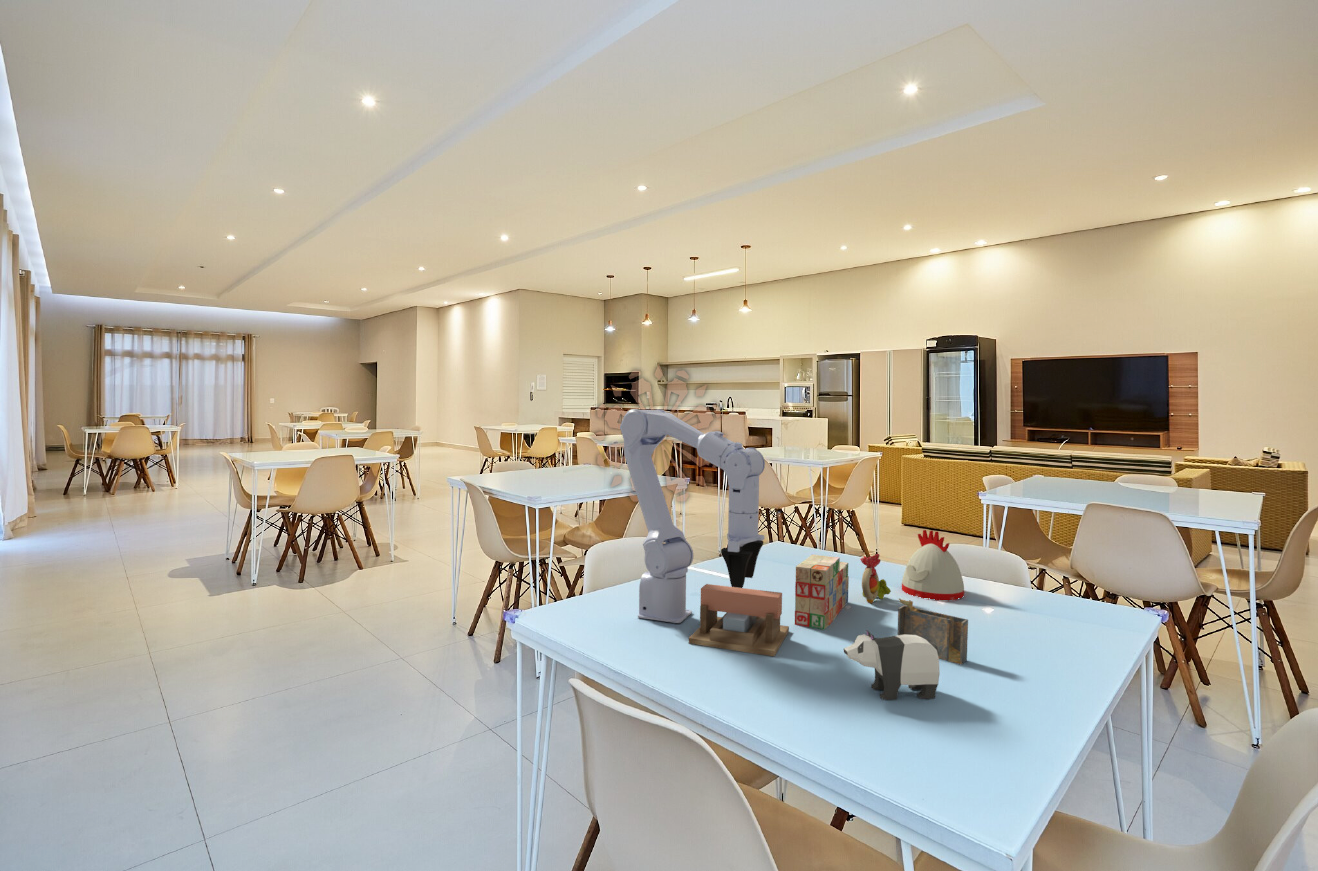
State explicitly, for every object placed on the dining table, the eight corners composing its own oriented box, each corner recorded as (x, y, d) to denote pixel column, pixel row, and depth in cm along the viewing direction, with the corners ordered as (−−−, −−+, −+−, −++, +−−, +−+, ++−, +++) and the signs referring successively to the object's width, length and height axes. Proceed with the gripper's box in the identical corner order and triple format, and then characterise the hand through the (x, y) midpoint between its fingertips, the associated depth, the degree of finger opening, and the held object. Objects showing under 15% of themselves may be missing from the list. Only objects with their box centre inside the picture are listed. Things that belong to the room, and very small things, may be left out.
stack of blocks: (821, 598, 148) (822, 546, 147) (848, 602, 145) (849, 549, 144) (794, 625, 129) (795, 565, 128) (825, 630, 126) (826, 569, 125)
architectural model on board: (896, 649, 117) (897, 597, 116) (902, 645, 119) (904, 594, 119) (960, 667, 109) (962, 611, 109) (966, 662, 111) (968, 607, 111)
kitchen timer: (926, 582, 163) (927, 524, 163) (976, 595, 151) (978, 533, 151) (889, 589, 156) (891, 528, 156) (939, 604, 144) (941, 538, 144)
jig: (688, 643, 118) (689, 610, 118) (710, 620, 131) (711, 590, 131) (774, 656, 112) (774, 621, 112) (788, 631, 125) (789, 600, 125)
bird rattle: (884, 614, 143) (893, 589, 150) (879, 573, 139) (889, 550, 146) (856, 609, 146) (866, 585, 153) (851, 569, 142) (861, 547, 149)
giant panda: (927, 684, 101) (929, 625, 101) (945, 700, 95) (946, 637, 95) (837, 685, 100) (838, 625, 100) (849, 701, 95) (851, 638, 94)
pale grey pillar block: (722, 639, 117) (723, 618, 117) (736, 622, 126) (736, 603, 126) (744, 642, 116) (744, 621, 115) (756, 625, 125) (756, 605, 125)
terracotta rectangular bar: (700, 608, 122) (700, 588, 122) (706, 603, 125) (706, 583, 125) (778, 619, 117) (778, 597, 117) (781, 613, 120) (782, 592, 120)
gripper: (755, 518, 113) (753, 594, 114) (772, 507, 127) (770, 575, 127) (717, 516, 116) (716, 589, 116) (737, 505, 129) (736, 571, 130)
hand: (742, 581), depth 122 cm, fingers open, 7 cm apart
